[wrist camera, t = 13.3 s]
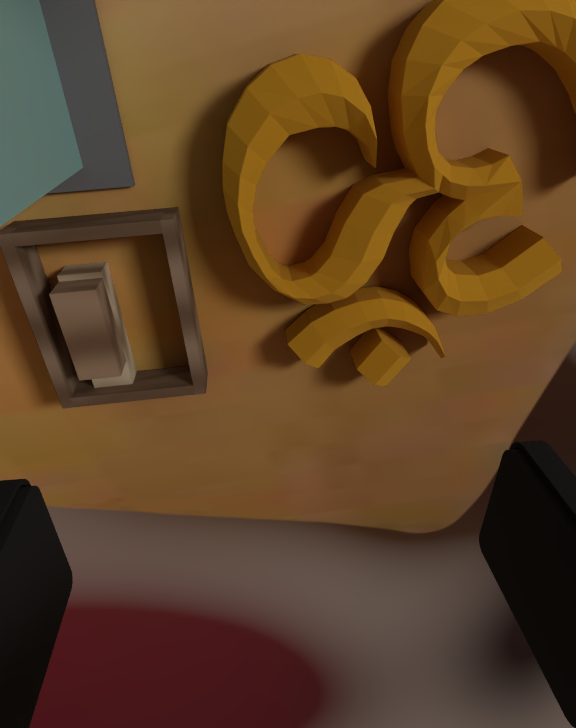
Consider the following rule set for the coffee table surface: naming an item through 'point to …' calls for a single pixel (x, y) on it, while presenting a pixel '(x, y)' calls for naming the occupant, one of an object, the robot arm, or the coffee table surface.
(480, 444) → the coffee table surface
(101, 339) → the offcut stack
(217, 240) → the coffee table surface
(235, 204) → the decorative symbol
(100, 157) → the mat
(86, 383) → the brown rectangular frame
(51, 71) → the teal rectangular block
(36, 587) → the robot arm
